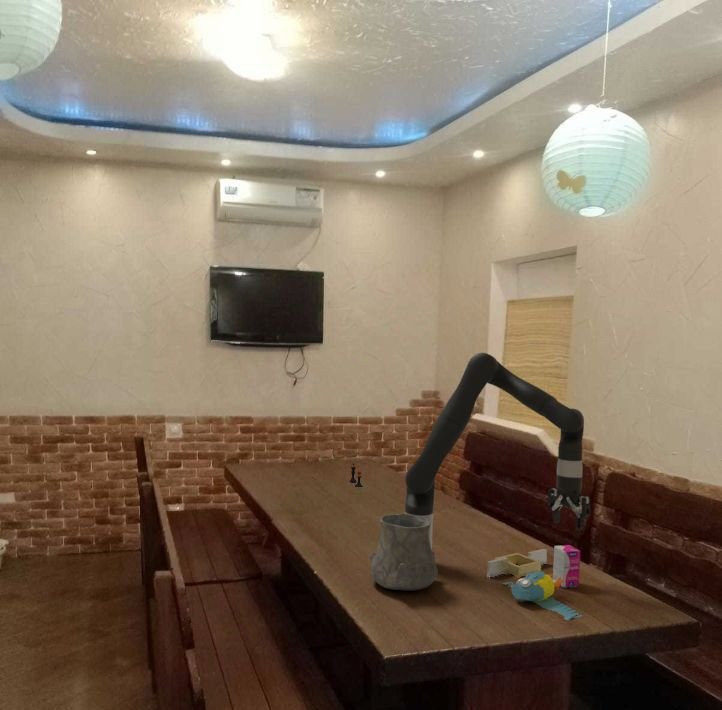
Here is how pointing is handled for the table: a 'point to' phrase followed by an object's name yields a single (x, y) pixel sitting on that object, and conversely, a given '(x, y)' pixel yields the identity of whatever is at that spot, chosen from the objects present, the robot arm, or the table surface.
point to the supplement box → (566, 565)
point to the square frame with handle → (509, 563)
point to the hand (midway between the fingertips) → (567, 526)
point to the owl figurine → (541, 592)
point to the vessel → (404, 553)
